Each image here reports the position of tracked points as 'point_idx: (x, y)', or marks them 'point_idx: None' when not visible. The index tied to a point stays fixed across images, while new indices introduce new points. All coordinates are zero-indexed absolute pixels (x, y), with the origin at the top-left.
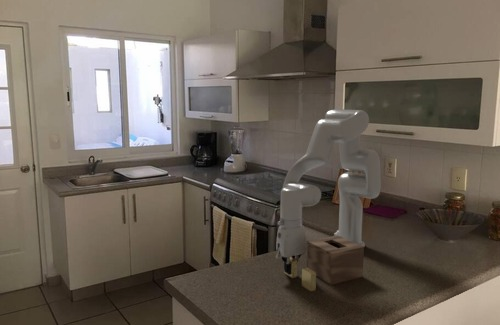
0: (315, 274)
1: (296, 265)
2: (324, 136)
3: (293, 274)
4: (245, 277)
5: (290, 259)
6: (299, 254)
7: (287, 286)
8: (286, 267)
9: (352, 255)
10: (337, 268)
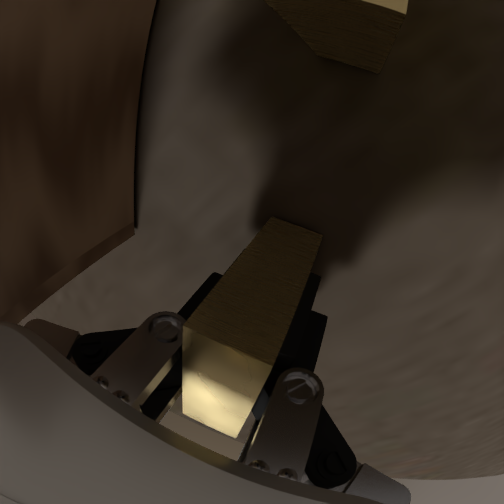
0: None
1: (226, 285)
2: None
3: (300, 245)
4: (455, 419)
5: (228, 397)
6: (86, 360)
7: (476, 179)
8: (318, 350)
9: None
10: None
